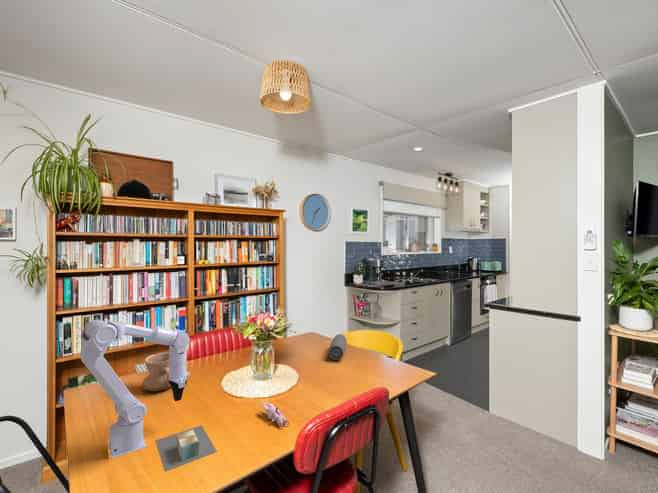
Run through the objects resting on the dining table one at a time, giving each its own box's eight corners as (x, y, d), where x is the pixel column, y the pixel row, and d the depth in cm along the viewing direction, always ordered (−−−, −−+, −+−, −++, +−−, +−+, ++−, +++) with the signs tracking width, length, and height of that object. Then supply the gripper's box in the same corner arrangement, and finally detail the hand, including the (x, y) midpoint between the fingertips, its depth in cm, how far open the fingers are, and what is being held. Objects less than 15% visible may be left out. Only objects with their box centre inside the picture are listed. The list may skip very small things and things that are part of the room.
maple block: (176, 447, 102) (182, 460, 96) (176, 435, 102) (182, 448, 96) (192, 441, 105) (199, 454, 99) (192, 429, 105) (199, 441, 99)
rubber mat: (165, 473, 91) (165, 471, 91) (155, 441, 106) (155, 440, 106) (217, 453, 100) (217, 451, 100) (201, 426, 115) (201, 425, 115)
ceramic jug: (136, 386, 146) (136, 356, 145) (168, 376, 157) (168, 348, 156) (151, 400, 134) (151, 367, 133) (185, 388, 145) (185, 358, 144)
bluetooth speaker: (332, 348, 202) (333, 332, 202) (347, 349, 201) (347, 333, 201) (327, 361, 180) (328, 344, 179) (344, 362, 178) (344, 345, 178)
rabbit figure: (292, 427, 117) (270, 405, 128) (293, 413, 116) (272, 392, 127) (278, 434, 113) (257, 411, 124) (279, 419, 112) (258, 397, 123)
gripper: (194, 367, 112) (194, 404, 112) (185, 355, 123) (184, 389, 123) (172, 371, 108) (172, 411, 108) (165, 359, 119) (164, 394, 119)
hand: (177, 400), depth 115 cm, fingers closed
